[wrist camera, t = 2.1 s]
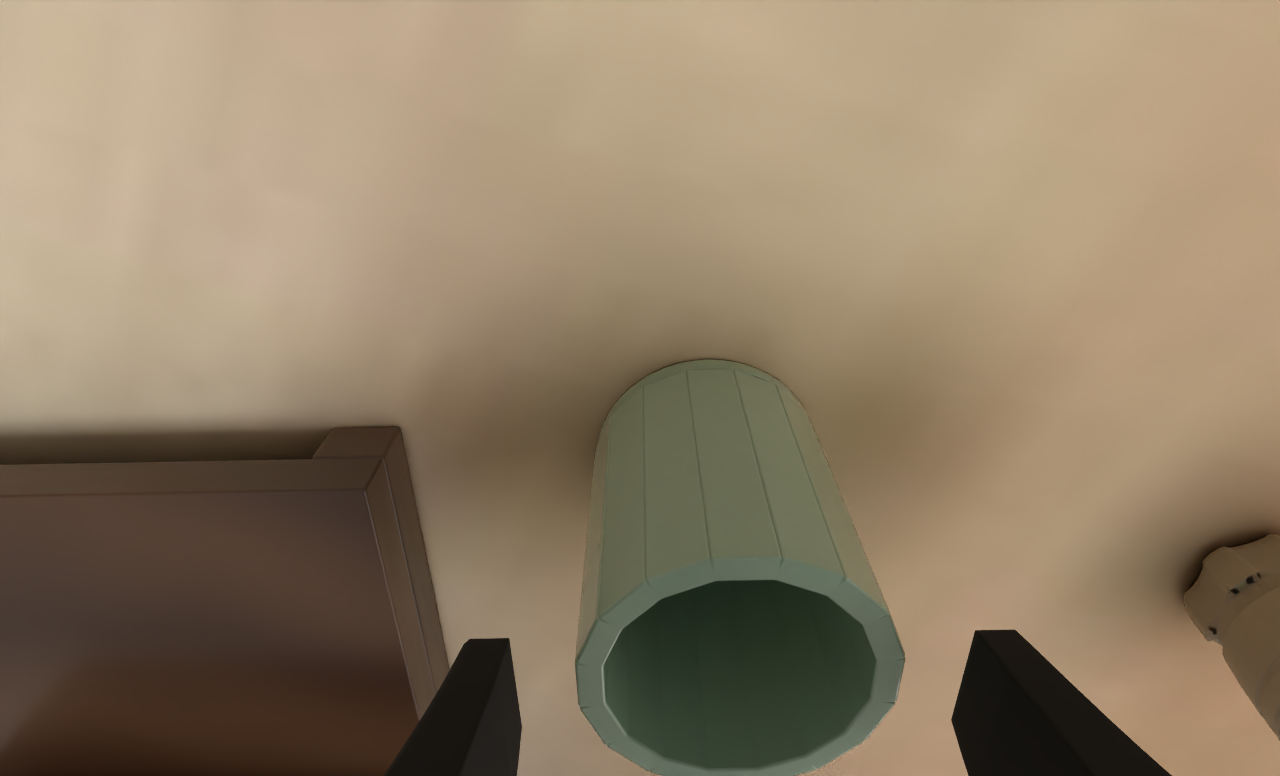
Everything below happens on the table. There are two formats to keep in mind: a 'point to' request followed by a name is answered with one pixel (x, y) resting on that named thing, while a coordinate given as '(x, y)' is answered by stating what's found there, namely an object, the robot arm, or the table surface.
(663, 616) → the pencil cup
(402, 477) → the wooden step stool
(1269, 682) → the handle
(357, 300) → the table surface
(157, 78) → the table surface
